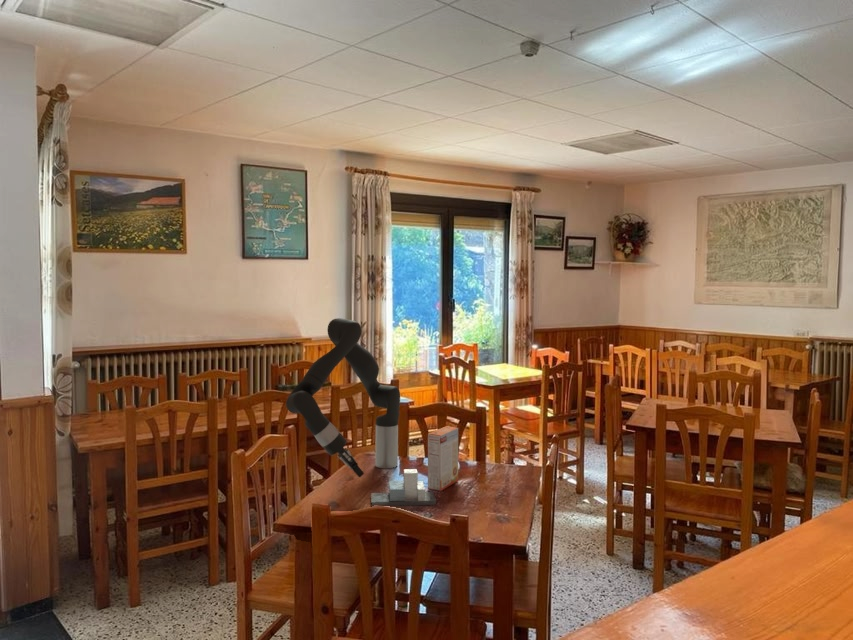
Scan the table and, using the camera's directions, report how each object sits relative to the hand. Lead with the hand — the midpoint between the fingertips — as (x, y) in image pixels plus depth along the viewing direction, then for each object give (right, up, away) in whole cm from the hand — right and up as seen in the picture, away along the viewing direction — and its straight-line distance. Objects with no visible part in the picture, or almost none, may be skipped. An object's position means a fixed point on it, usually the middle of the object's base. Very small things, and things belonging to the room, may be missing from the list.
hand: (361, 475), depth 220 cm
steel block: (+17, -7, 0) cm, 19 cm away
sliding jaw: (+12, -7, -1) cm, 14 cm away
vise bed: (+14, -9, 0) cm, 17 cm away
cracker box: (+29, -8, +17) cm, 35 cm away
